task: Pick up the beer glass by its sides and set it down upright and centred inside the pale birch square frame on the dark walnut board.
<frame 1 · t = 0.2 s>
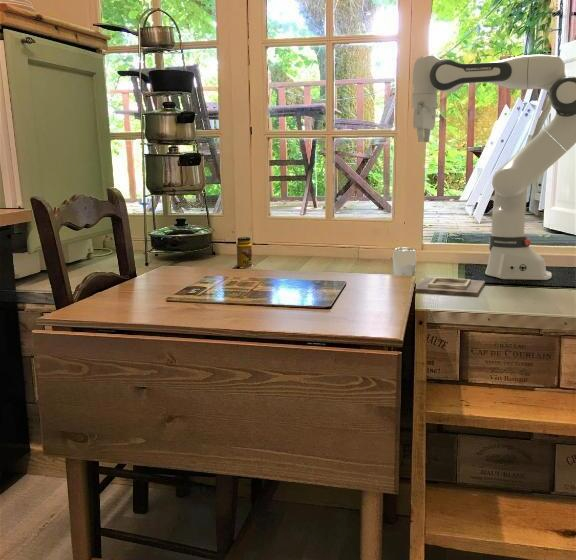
hand: (423, 142, 228), 48 cm above the table, tool pointing down, fingers open, 8 cm apart
walnut board: (449, 288, 204), on the table
condiment: (242, 267, 252), on the table
beer glass: (403, 297, 192), on the table
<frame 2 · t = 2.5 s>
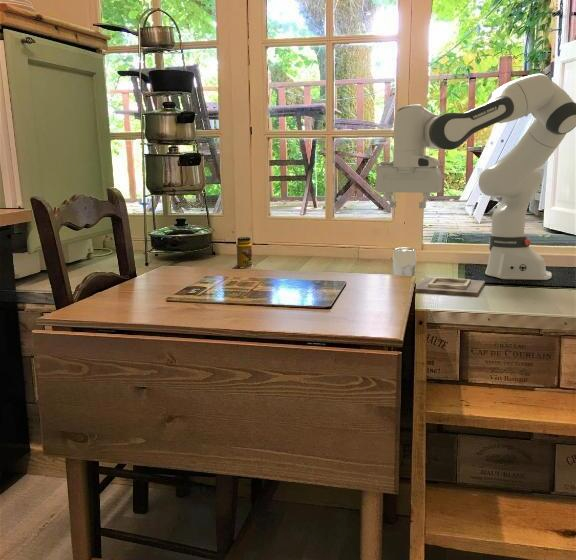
hand: (407, 207, 187), 28 cm above the table, tool pointing down, fingers open, 8 cm apart
nothing on the table moved.
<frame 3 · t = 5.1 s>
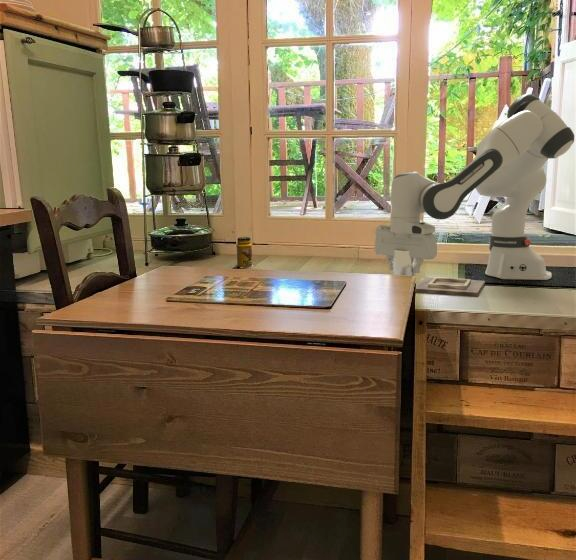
hand: (404, 271, 191), 8 cm above the table, tool pointing down, fingers closed on beer glass, 7 cm apart
beer glass: (403, 297, 192), on the table, touching gripper
everything else where it was.
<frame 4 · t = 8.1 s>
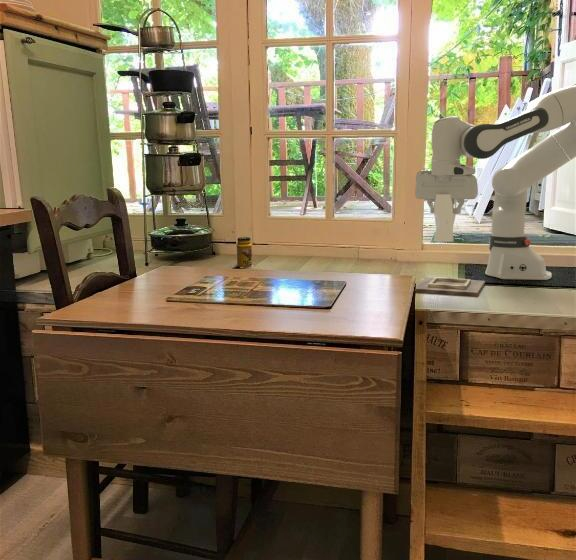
hand: (445, 213, 199), 25 cm above the table, tool pointing down, fingers closed on beer glass, 7 cm apart
beer glass: (443, 241, 200), point 16 cm above the table, touching gripper
everything else where it was.
when the fingers open (10 cm above the table, at t = 11.5 s): beer glass stays where it is, resting on walnut board.
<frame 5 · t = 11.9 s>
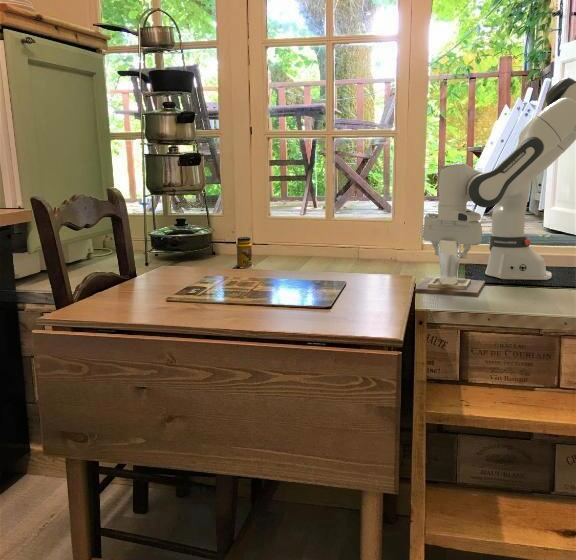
hand: (450, 256, 202), 10 cm above the table, tool pointing down, fingers open, 8 cm apart
beer glass: (448, 285, 203), point 1 cm above the table, touching walnut board
everything else where it was.
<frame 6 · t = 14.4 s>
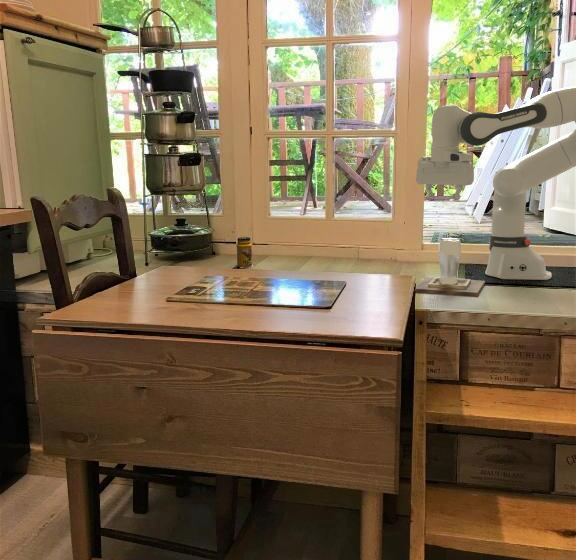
hand: (443, 198, 206), 29 cm above the table, tool pointing down, fingers open, 8 cm apart
nothing on the table moved.
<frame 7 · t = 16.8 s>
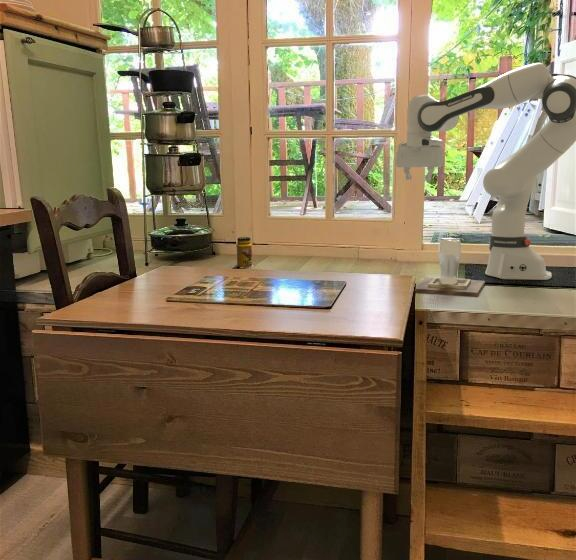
hand: (418, 180, 230), 34 cm above the table, tool pointing down, fingers open, 8 cm apart
nothing on the table moved.
at the end: beer glass 0.9 cm off-centre on the walnut board, point 1.0 cm above the walnut board's base; beer glass tilted 0°; the gripper is holding nothing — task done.
